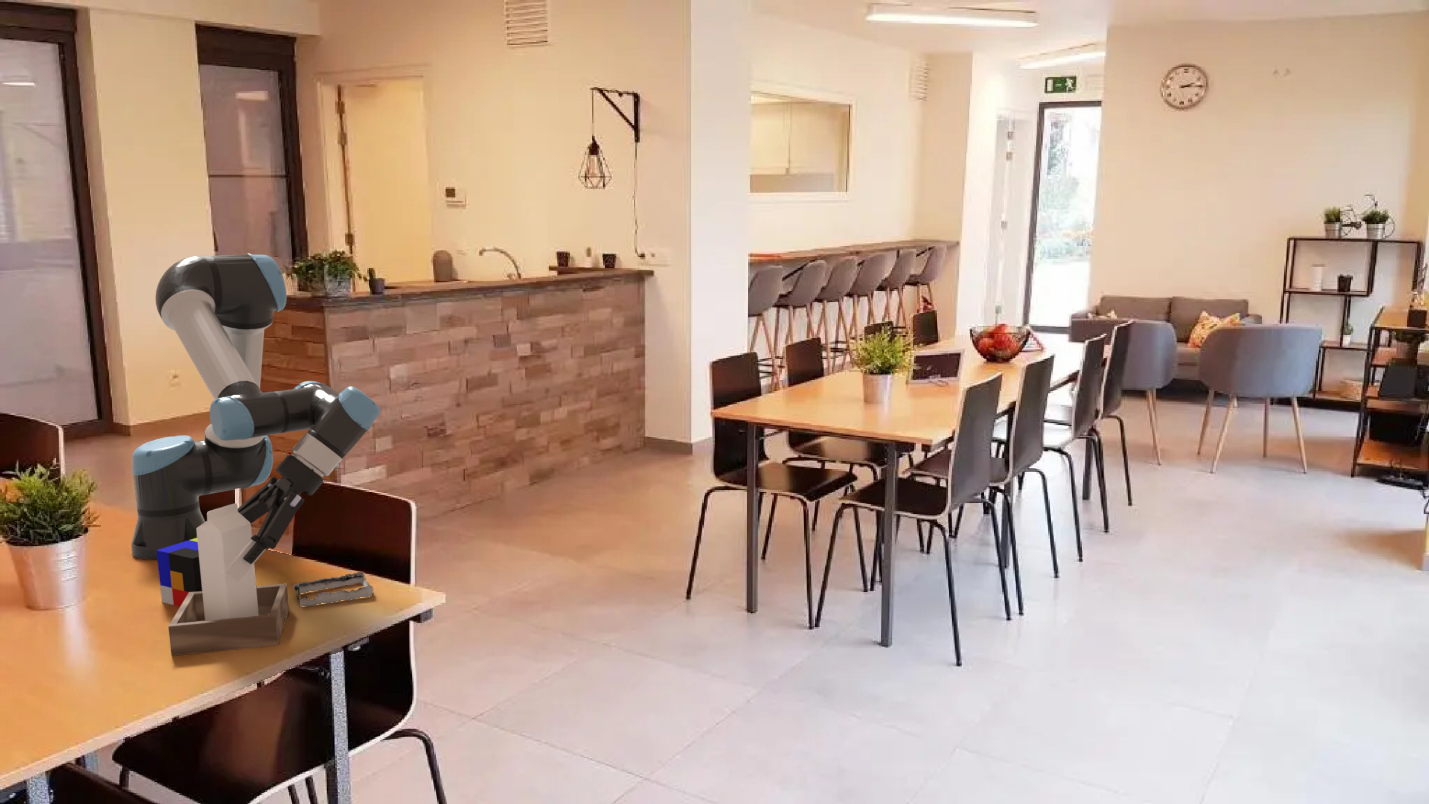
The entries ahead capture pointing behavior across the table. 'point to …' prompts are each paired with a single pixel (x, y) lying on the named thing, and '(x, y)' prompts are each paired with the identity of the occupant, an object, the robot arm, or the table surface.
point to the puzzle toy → (179, 571)
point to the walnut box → (229, 624)
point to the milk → (225, 565)
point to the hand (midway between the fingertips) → (222, 565)
